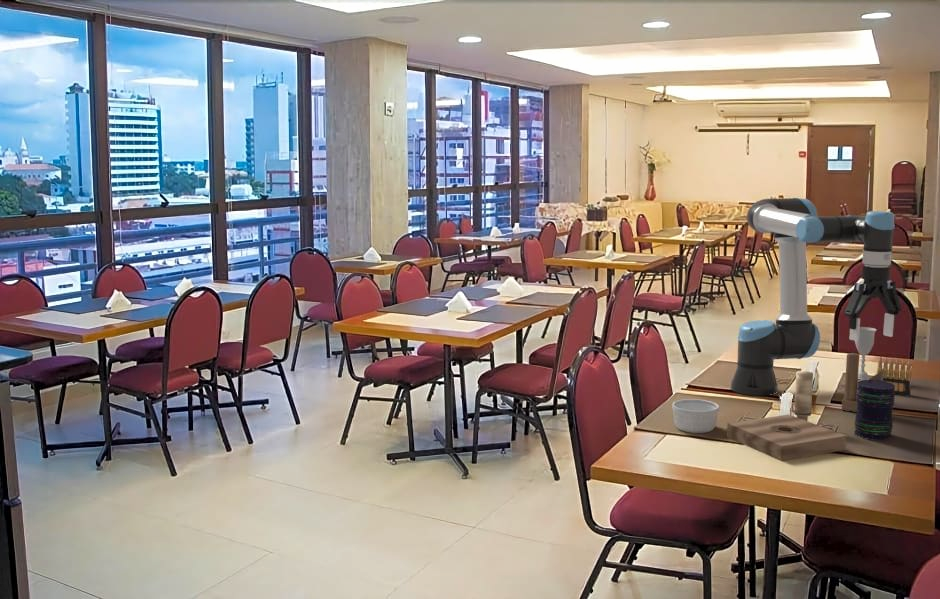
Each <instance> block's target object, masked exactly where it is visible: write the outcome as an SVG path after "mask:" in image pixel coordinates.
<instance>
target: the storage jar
mask: <svg viewBox="0 0 940 599" xmlns="http://www.w3.org/2000/svg"><path fill="white" fill-rule="evenodd" d="M894 389H895V385H894V384H892V383H889V382H884V381H877V380H858V385H857V398H856V400H857V413H855V420H854V429H855V430H854V432H855V434H856V435H857V436H856V435H855V434H854V435H855V436H856V437H858V436H860V437H863V438H862V439H864V438H868V439H873V440H872V441H877V440H883V441H888V440H887V439H889V440H891V439H892V431H893V422H894V421H893V420H894V419H893V409H894V407H893V406H894V405H895V399H896V398H895V397H896V394H895V391H894ZM860 437H859V438H860ZM890 438H891V439H890ZM868 439H867V440H868Z"/></svg>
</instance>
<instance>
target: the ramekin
mask: <svg viewBox="0 0 940 599" xmlns="http://www.w3.org/2000/svg"><path fill="white" fill-rule="evenodd" d="M671 407H672V410H673V411H672V412H673V422H674V423H673V424H674V426H676V428H677V429H678V430H680V431H683V432H687V433H693V434H694V433H695V434H699V433H700V434H703V433H709V432H712V431H713V430H714V429H715V427H716V425H717V420H718V413H719V410H720V406H719V404H717V403H715V402H714V401H709V400H706V399H697V398H687V399H686V398H685V399H679V400H675V401H674V402H672V406H671Z"/></svg>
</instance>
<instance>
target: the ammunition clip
mask: <svg viewBox="0 0 940 599" xmlns="http://www.w3.org/2000/svg"><path fill="white" fill-rule="evenodd" d="M882 359H883V358H882V356H880V357H879V358H878V363H877V368H876V374H877V373H878V372H880V371H881V370H882V369H884V374H883V381H884V382H889V383H892V384H894V385H895V389H894V391H895V395H897V394H902V395H901V396H905V395H910V396H911V391H912V390H911V389H912V388H911V386H912V384H911V382H912V362H911V359H908V362H907V364H906V362H905V359H902V361H901V364H900V360H899V358H896V359H895V360H896V361H895V364H894V358H893V357H891V358H890V361H889V362H888V358H887V357H885V358H884V361H883V360H882ZM900 365H901V366H900Z"/></svg>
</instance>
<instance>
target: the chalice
mask: <svg viewBox="0 0 940 599" xmlns="http://www.w3.org/2000/svg"><path fill="white" fill-rule="evenodd" d="M876 332H877V329H876V328H874V327H869V326H868V327H866V326H860V330H859V341H854V344H855V347H856V349H857V352H858V354H859V355H861V359H860V361H861V362H860V364H859V366H860V367H861V368H860V370H858V379H861V380H860V381H862V380H869V379H870V377H869V374H868V373H867V372H866V371H865V367H866V366H867V365H866V364H865V363H866V355H869V353H870V352H871V350H872V348H873V346H874V344H875V335H876V334H875V333H876Z"/></svg>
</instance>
